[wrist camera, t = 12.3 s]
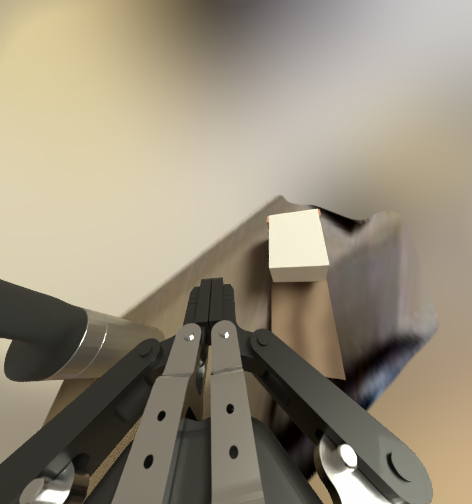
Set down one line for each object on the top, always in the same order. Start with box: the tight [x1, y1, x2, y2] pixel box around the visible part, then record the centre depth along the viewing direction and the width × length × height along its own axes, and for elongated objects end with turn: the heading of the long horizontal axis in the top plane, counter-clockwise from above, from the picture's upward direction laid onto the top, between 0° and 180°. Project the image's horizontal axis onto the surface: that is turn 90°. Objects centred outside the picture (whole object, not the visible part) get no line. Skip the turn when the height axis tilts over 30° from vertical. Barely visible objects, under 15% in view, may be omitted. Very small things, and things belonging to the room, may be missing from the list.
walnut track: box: [267, 209, 346, 380], centre depth 32 cm, size 10×28×8 cm, turn 173°
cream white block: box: [269, 209, 329, 282], centre depth 33 cm, size 9×12×8 cm
